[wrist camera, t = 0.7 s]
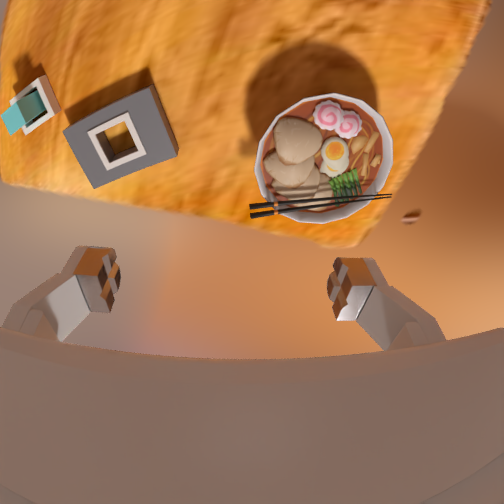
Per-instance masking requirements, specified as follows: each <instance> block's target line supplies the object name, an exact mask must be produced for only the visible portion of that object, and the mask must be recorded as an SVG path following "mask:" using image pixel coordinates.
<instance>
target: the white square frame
mask: <svg viewBox="0 0 504 504" xmlns="http://www.w3.org/2000/svg"><path fill="white" fill-rule="evenodd" d="M36 87H37V89H38V92H39V94H40V96H41V98H42V101H43V103H44V105H45V107H46V109H47V111H48V113H47V114H46V115H44V116H43V117H41V118H40V119H38V120H37V121H36V122H33V120H31V121H29V122H28V123H27V124H25V125H24V126H22V129H23V131H24V133H25V135H27V134H28V133H29V132H31V131H32V130H34V129H35V128H36V127H38V126H39V125H41V124H42V123H43V122H45V121H46V120H48V119H49V118H51V117H52V116H54V115H55V114H57V113H58V112H60V111H61V108H60V106H59V104H58V102H57V99H56V97H55V95H54V93H53V90H52V88H51V86H50V83H49V81H48V79H47V76H46V75H43V76H41V77H39V78H37V79H36V80H35V81H33V82H32V83H31V84H29V85H28V86H27V87H26V88H24V89H23V90H22V91H21V92H20V93H18V94H17V95H16V96H15V97H14V98H13V99H11V100H10V101H9V102H10V104H11V106H12V105H13V104H14V103H15V102H17V101H18V100H20V99H22V98H24V97H25V96H26V95H27V94H29V93H30V92H31V91H33V90H34V89H35V88H36Z"/></svg>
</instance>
